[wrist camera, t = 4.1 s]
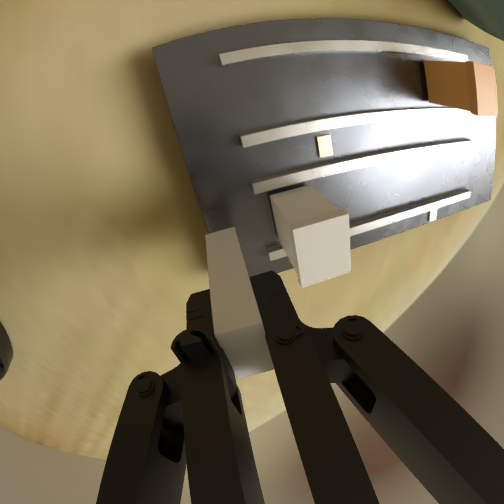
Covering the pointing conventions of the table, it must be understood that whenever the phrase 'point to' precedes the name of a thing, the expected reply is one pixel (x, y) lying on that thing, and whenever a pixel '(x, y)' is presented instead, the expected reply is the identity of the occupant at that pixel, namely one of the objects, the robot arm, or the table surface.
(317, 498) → the robot arm
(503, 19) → the flower pot
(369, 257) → the table surface
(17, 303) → the table surface
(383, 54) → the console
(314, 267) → the fader ivory
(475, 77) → the fader orange
